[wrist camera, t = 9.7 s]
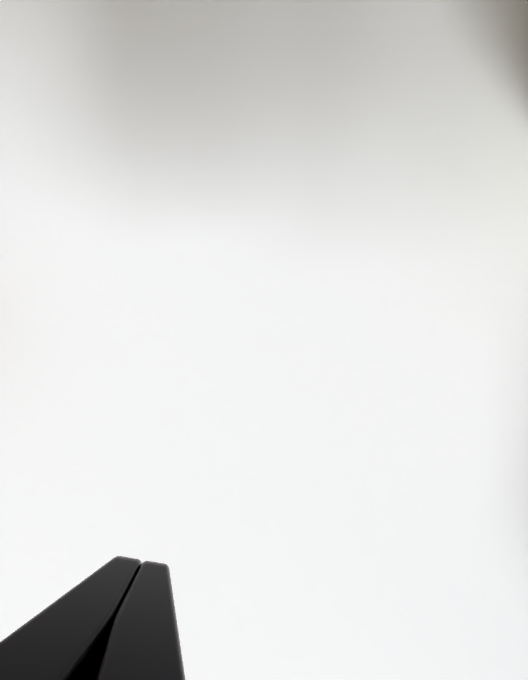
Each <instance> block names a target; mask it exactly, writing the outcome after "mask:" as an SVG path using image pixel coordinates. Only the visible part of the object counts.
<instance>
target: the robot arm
mask: <svg viewBox="0 0 528 680" xmlns="http://www.w3.org/2000/svg"><path fill="white" fill-rule="evenodd" d="M0 680H185V675H184V668H183V662H182V655H181V648H180V641H179V634H178V627H177V620H176V613H175V606H174V600H173V593H172V586H171V579H170V572H169V567H168V566H167V565H166V564H163V563H157V562H151V561H145V562H143V563H141V561H140V560H139V559H134V558H128V557H122V556H117V557H115V558H113V559H112V560H111V561H109V562H108V563H106V564H105V565H104V566H102V567H101V568H100V569H98V570H97V571H96V572H94V573H93V574H92V575H90V576H89V577H88V578H86V579H85V580H84V581H82V582H81V583H79V584H78V585H77V586H75V587H74V588H73V589H71V590H70V591H69V592H67V593H66V594H65V595H63V596H62V597H61V598H59V599H58V600H57V601H55V602H54V603H53V604H51V605H50V606H48V607H47V608H46V609H44V610H43V611H42V612H40V613H39V614H38V615H36V616H35V617H34V618H32V619H31V620H30V621H28V622H27V623H26V624H24V625H23V626H21V627H20V628H19V629H17V630H16V631H15V632H13V633H12V634H11V635H9V636H8V637H7V638H5V639H4V640H3V641H1V642H0Z"/></svg>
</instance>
